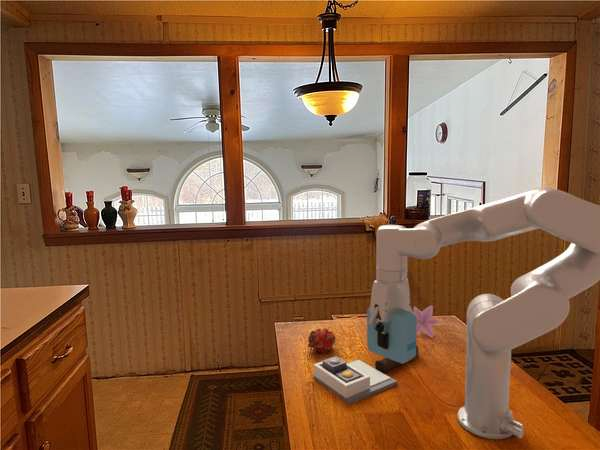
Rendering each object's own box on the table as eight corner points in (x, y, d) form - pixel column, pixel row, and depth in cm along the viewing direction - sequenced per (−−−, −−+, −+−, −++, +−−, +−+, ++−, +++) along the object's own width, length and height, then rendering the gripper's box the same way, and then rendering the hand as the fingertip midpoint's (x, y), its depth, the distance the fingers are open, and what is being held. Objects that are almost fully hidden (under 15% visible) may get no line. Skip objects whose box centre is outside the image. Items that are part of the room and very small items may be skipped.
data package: (416, 359, 101) (417, 313, 99) (406, 365, 98) (407, 317, 96) (377, 345, 110) (377, 302, 108) (366, 350, 107) (366, 306, 105)
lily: (399, 332, 157) (401, 316, 151) (415, 314, 163) (417, 297, 157) (427, 349, 150) (431, 333, 144) (443, 329, 156) (446, 313, 150)
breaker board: (397, 384, 117) (397, 369, 116) (349, 404, 107) (349, 388, 107) (357, 362, 131) (357, 348, 130) (313, 377, 122) (312, 363, 121)
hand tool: (383, 376, 122) (384, 361, 121) (374, 371, 125) (374, 356, 125) (424, 359, 133) (425, 345, 132) (414, 354, 136) (415, 341, 135)
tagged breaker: (360, 385, 114) (360, 374, 113) (346, 391, 111) (346, 379, 111) (348, 378, 118) (348, 367, 117) (335, 383, 115) (335, 372, 115)
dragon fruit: (306, 359, 137) (331, 354, 144) (320, 351, 131) (346, 346, 139) (298, 335, 141) (324, 331, 148) (312, 326, 135) (338, 322, 143)
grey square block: (346, 372, 119) (346, 361, 118) (333, 376, 116) (332, 366, 115) (336, 365, 123) (335, 355, 122) (322, 370, 120) (322, 359, 120)
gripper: (403, 267, 109) (402, 332, 111) (355, 277, 99) (355, 347, 102) (426, 272, 103) (425, 341, 105) (377, 283, 93) (377, 359, 96)
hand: (391, 343), depth 103 cm, fingers closed on data package, 5 cm apart
